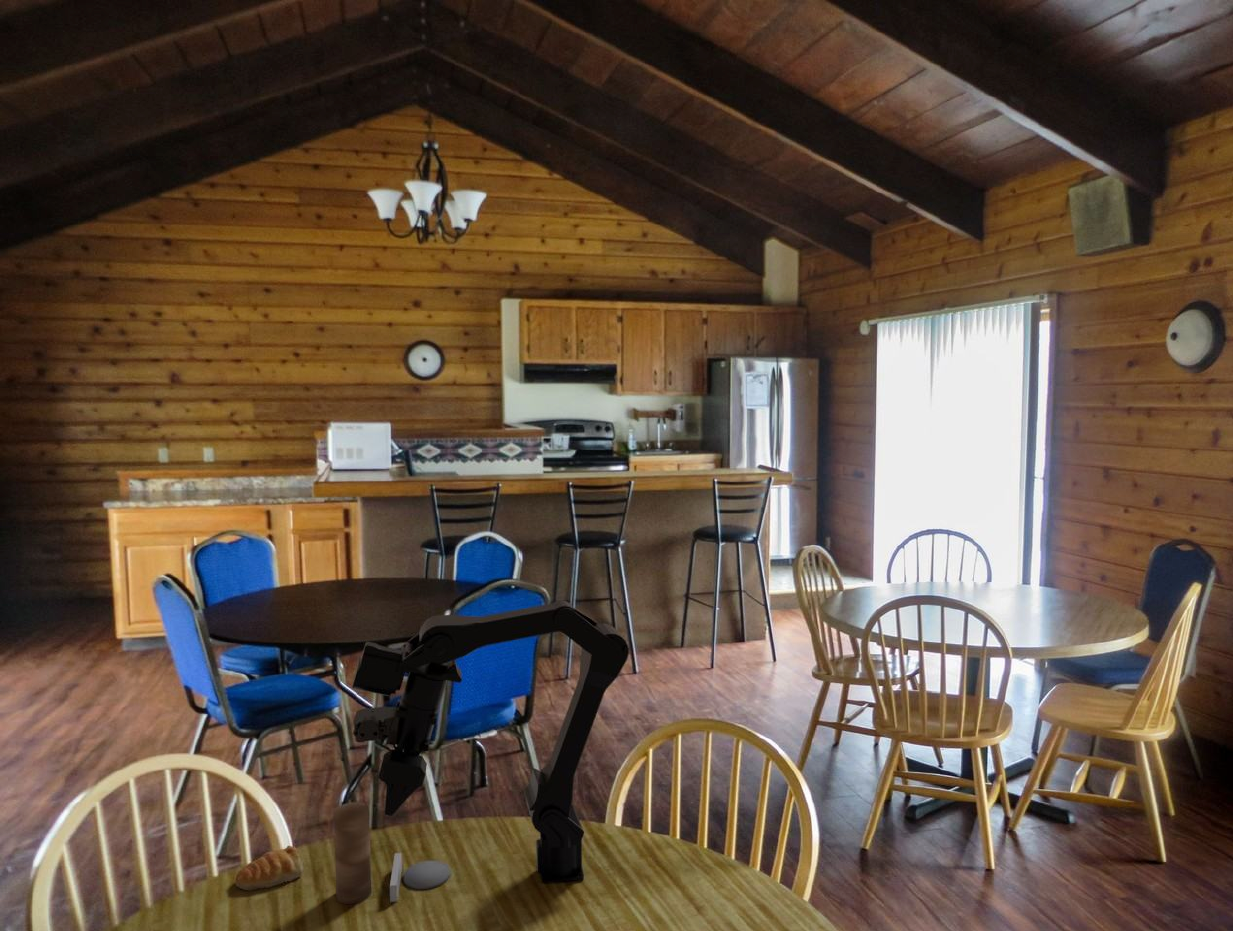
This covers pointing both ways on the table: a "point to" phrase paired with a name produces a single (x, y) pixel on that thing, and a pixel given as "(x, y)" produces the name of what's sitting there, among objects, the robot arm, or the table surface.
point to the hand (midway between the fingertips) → (391, 798)
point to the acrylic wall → (395, 877)
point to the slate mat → (426, 874)
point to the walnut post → (352, 852)
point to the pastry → (270, 869)
